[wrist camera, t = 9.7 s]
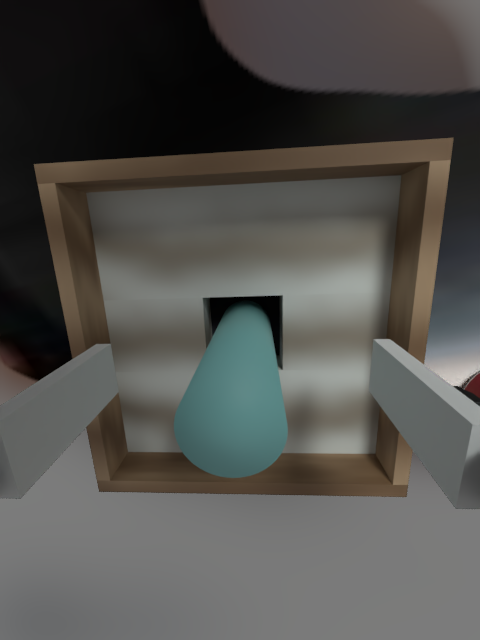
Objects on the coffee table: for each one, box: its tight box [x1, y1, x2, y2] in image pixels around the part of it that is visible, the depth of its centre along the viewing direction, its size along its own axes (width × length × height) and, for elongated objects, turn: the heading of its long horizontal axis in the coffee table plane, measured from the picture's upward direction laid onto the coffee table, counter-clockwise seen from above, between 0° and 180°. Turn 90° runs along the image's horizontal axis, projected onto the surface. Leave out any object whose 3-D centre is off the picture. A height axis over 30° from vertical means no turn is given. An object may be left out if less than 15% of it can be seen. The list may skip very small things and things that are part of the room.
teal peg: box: [174, 300, 288, 478], centre depth 17 cm, size 4×4×14 cm
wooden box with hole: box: [34, 138, 454, 497], centre depth 21 cm, size 22×22×6 cm
